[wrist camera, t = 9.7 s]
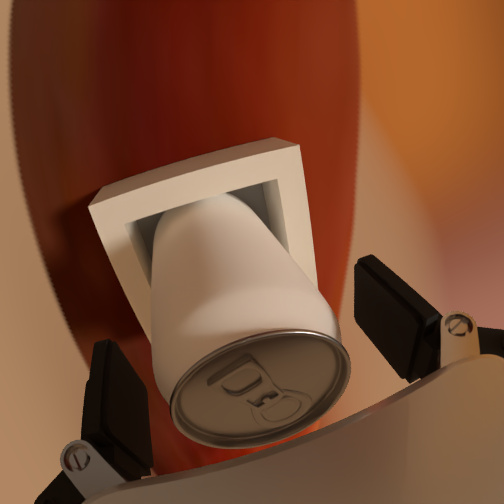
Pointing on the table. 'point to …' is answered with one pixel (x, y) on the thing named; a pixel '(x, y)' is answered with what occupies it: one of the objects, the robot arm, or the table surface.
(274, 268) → the can
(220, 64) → the table surface
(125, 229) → the dock socket
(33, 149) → the table surface
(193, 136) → the table surface
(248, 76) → the table surface
